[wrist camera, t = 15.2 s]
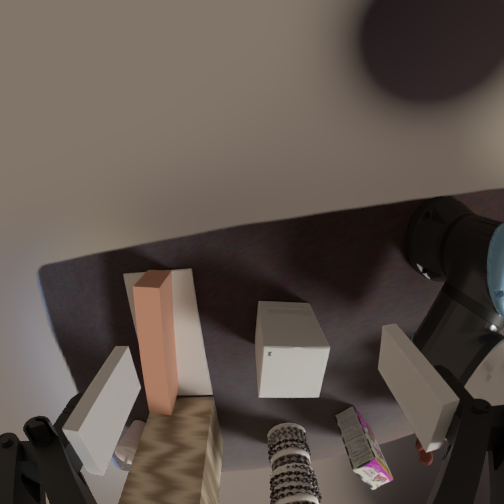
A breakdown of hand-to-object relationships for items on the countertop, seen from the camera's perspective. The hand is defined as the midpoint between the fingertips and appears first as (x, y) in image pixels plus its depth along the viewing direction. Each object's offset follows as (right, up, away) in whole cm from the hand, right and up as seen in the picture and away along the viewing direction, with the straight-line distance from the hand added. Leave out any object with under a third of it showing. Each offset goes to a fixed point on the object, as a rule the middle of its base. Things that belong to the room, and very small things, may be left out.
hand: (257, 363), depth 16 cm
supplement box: (+5, -7, +40) cm, 41 cm away
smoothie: (-25, -33, +46) cm, 62 cm away
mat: (-15, -10, +40) cm, 44 cm away
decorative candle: (+7, -34, +47) cm, 58 cm away
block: (-16, -9, +39) cm, 43 cm away
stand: (-13, -30, +45) cm, 56 cm away
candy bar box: (+22, -32, +47) cm, 60 cm away
